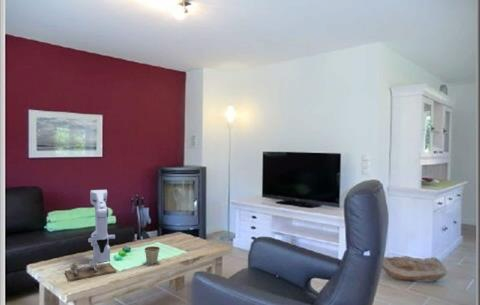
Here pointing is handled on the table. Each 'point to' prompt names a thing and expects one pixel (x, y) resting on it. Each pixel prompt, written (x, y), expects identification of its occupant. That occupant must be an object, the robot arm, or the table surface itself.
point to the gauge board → (88, 271)
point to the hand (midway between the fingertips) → (101, 252)
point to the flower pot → (152, 254)
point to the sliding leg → (93, 265)
